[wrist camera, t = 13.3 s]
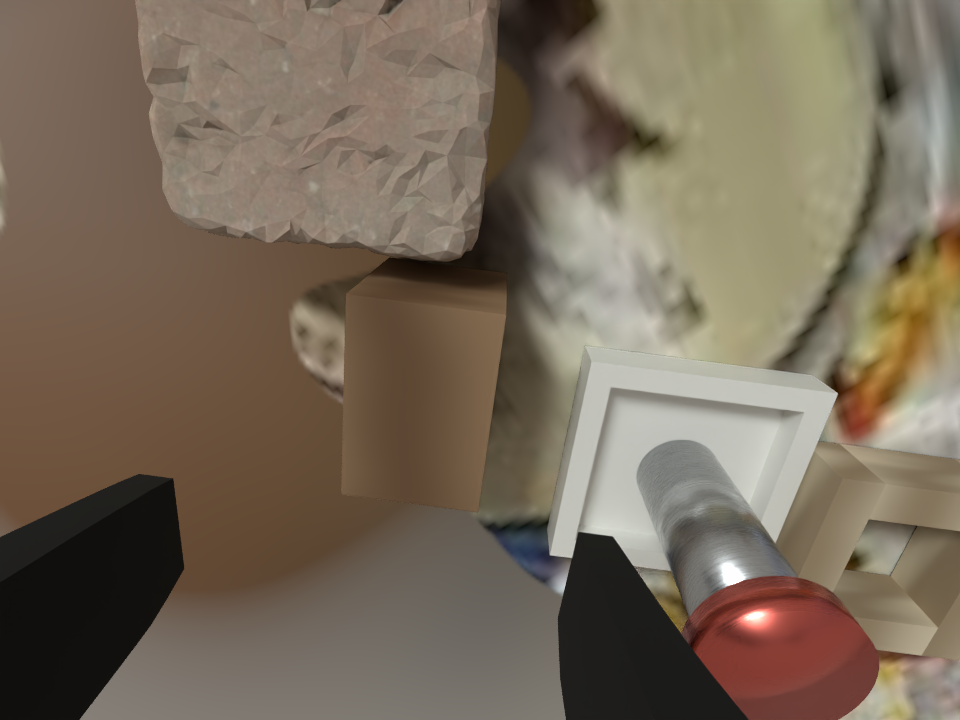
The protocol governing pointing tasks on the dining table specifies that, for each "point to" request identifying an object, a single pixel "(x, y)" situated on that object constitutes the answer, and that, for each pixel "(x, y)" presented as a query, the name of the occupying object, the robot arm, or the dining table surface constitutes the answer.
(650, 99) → the dining table surface
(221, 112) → the brick
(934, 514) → the socket block
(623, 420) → the tray
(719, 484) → the pin
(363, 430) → the brown rectangular block
